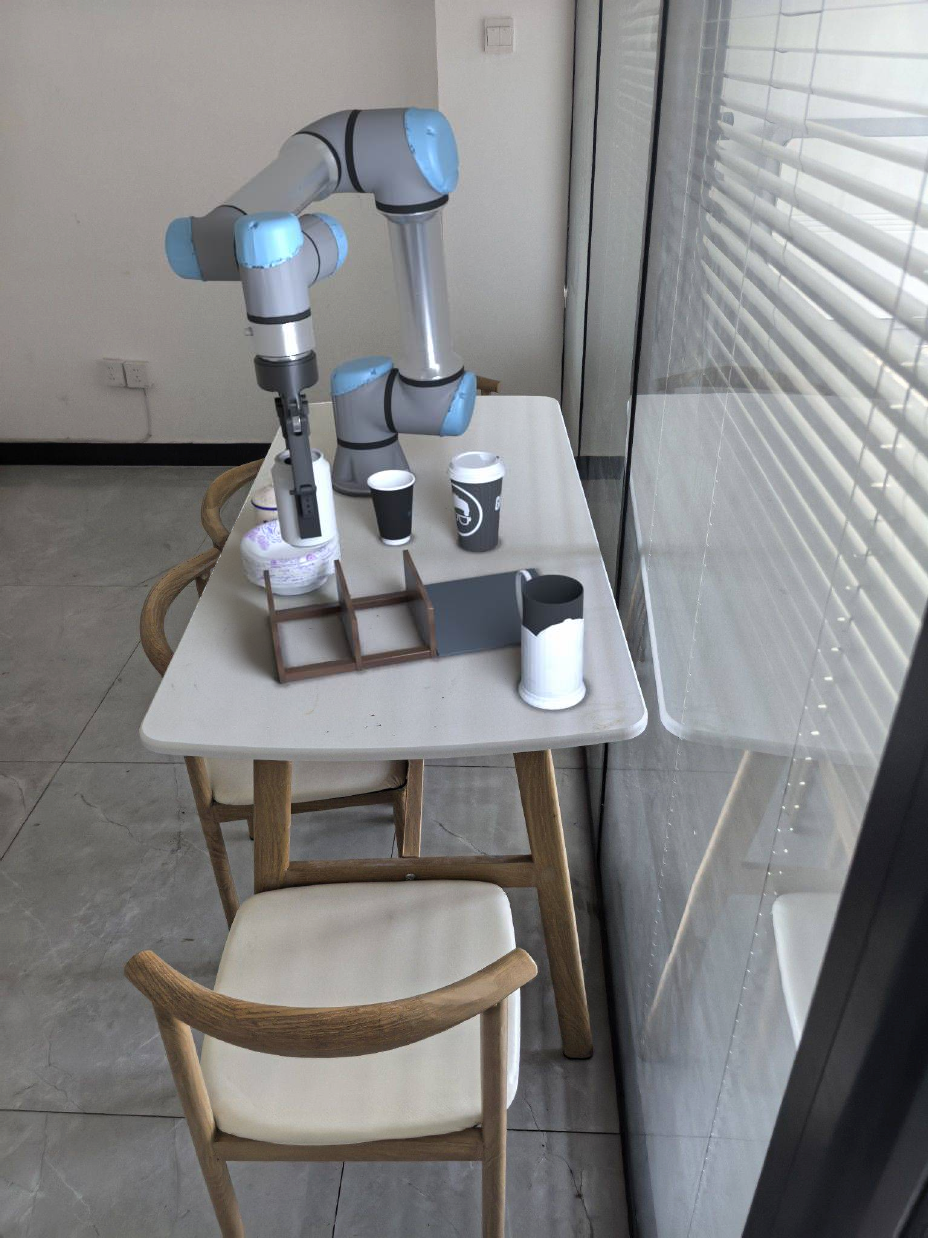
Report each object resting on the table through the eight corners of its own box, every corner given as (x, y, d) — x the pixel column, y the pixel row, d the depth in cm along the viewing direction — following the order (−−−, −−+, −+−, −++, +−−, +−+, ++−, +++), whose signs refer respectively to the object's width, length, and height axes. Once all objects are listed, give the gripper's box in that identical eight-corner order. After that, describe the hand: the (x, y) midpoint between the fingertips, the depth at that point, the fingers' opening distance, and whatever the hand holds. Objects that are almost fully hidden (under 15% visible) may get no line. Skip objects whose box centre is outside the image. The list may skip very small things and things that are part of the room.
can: (276, 533, 131) (263, 450, 125) (329, 522, 134) (318, 440, 127) (289, 556, 125) (276, 470, 119) (345, 544, 128) (335, 459, 121)
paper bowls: (290, 616, 144) (283, 569, 140) (227, 586, 153) (219, 541, 148) (363, 576, 153) (359, 531, 149) (300, 550, 162) (294, 507, 158)
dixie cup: (364, 537, 166) (358, 477, 160) (403, 524, 169) (399, 465, 164) (387, 553, 160) (382, 492, 154) (428, 540, 164) (424, 480, 158)
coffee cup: (501, 557, 157) (500, 472, 149) (444, 554, 159) (440, 469, 151) (511, 532, 165) (510, 449, 157) (456, 529, 167) (452, 447, 159)
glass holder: (537, 716, 120) (537, 613, 113) (489, 660, 132) (486, 563, 124) (598, 698, 123) (602, 596, 116) (546, 644, 135) (547, 548, 127)
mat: (410, 589, 150) (410, 587, 149) (534, 570, 153) (534, 568, 153) (438, 657, 133) (438, 655, 133) (576, 634, 137) (576, 632, 136)
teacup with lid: (256, 557, 161) (246, 493, 154) (260, 533, 168) (250, 471, 162) (329, 551, 161) (321, 487, 155) (329, 528, 169) (322, 466, 163)
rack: (270, 617, 144) (262, 570, 140) (411, 595, 148) (407, 549, 144) (280, 684, 129) (272, 633, 125) (436, 657, 133) (433, 607, 129)
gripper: (248, 333, 124) (274, 496, 136) (257, 380, 107) (285, 562, 119) (307, 327, 125) (327, 489, 137) (324, 373, 108) (346, 553, 120)
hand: (308, 523), depth 128 cm, fingers closed on can, 7 cm apart
